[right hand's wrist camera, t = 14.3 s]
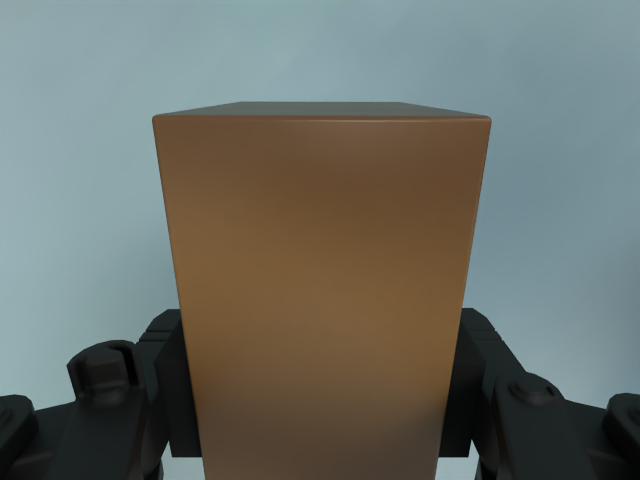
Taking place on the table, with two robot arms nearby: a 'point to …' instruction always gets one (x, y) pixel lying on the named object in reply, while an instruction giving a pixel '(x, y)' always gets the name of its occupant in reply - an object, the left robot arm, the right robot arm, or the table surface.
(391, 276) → the bar
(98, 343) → the right robot arm
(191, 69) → the table surface
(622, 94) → the table surface
